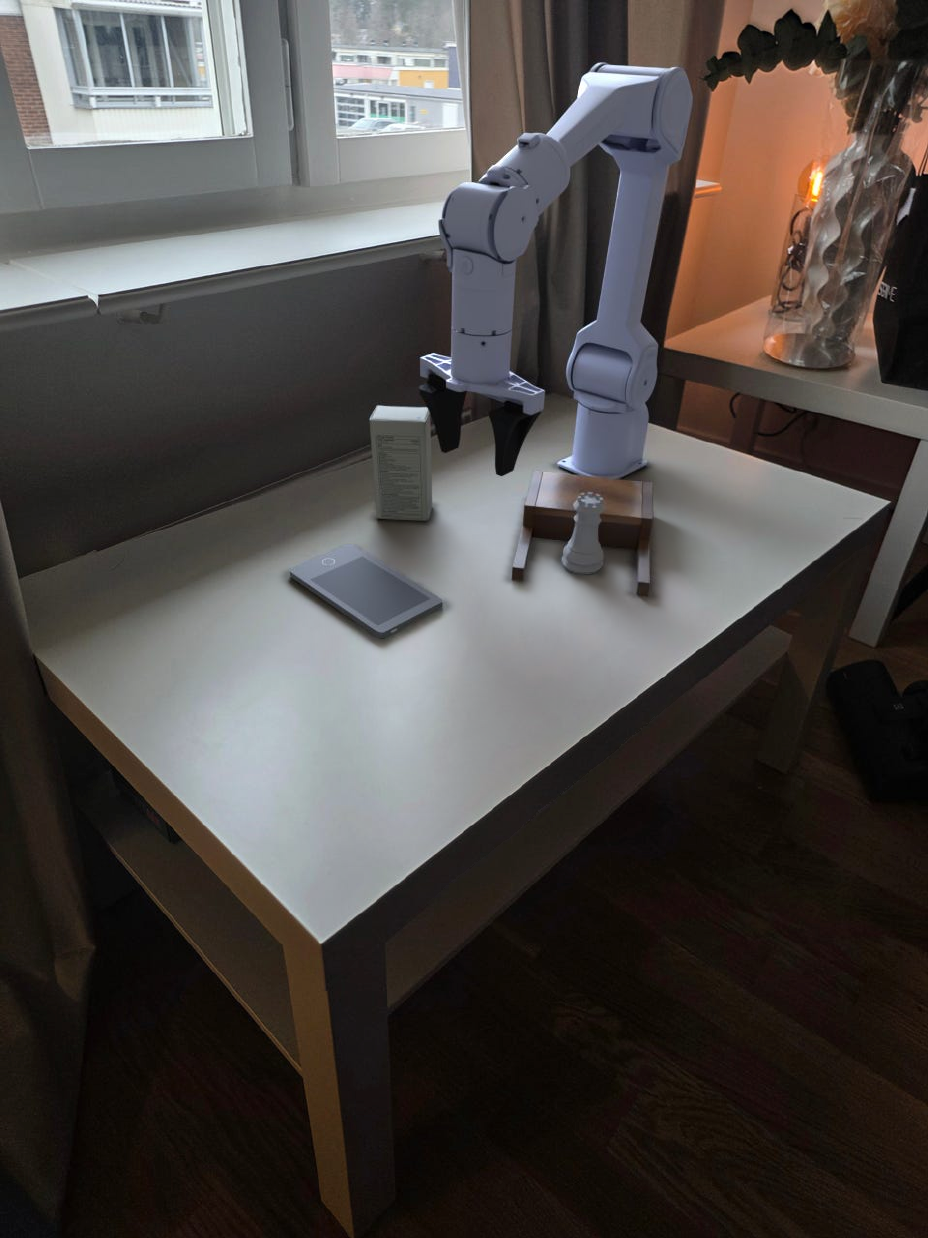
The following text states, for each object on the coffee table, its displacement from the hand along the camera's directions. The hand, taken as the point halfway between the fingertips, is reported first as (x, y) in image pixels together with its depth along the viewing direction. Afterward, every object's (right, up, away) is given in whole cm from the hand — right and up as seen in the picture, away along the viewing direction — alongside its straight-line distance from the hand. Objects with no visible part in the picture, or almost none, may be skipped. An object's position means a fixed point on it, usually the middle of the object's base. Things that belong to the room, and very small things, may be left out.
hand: (476, 460), depth 86 cm
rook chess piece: (+11, -11, +3) cm, 16 cm away
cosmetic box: (-8, -4, +12) cm, 15 cm away
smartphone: (-11, -14, -2) cm, 18 cm away
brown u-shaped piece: (+12, -8, +7) cm, 16 cm away
